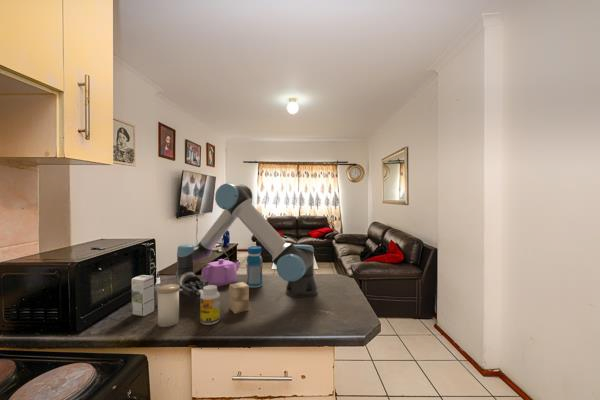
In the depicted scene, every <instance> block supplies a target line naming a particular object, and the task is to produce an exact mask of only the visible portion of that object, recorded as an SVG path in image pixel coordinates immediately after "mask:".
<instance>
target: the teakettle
mask: <svg viewBox="0 0 600 400" xmlns="http://www.w3.org/2000/svg"><path fill="white" fill-rule="evenodd" d="M240 265H241V261H236V262H234V261H230V260H228V259H224V258H220V259H217V260H216V261H211V262H207V263H206V265H205V266H202V267H201V276H200V279H201V278H202V279H203V280H205V282H207V281H209V285H216V286H217V287H221V286H225V285H227V286H228V285H229V284H235V283H237V278H238V274H237V273H238V269H239V267H240Z"/></svg>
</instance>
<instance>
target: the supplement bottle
mask: <svg viewBox="0 0 600 400" xmlns="http://www.w3.org/2000/svg"><path fill="white" fill-rule="evenodd" d="M199 300H200V302H199V303H200V304H199V306H200V307H199V310H200V311H199V317H200V318H199V320H200V323H201V324H202V325H206V326H207V325H208V326H210V325H214V324H217V323H218V322H219V321H220V320H221V319H220V318H221V293H220V292H219V291H218V286H216V285H208V286H205V287H204V286H203V293H202V294H201V296H200V298H199Z"/></svg>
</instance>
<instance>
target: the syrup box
mask: <svg viewBox="0 0 600 400" xmlns="http://www.w3.org/2000/svg"><path fill="white" fill-rule="evenodd" d="M154 277H155V276H154V275H146V274H141V275H138V276H135V277H133V278H131V315H132V316H138V317H146V316H148V315H149V314H152V313H153V312H154V311H155V287H154V286H155V282H154V281H155V278H154Z"/></svg>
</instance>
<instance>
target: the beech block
mask: <svg viewBox="0 0 600 400" xmlns="http://www.w3.org/2000/svg"><path fill="white" fill-rule="evenodd" d="M228 285H229V287H228V288H229V289H228V290H229V292H228V293H229V299H228V300H229V302H228V303H229V304H228V305H229V309H230V311H232V312H233V313H234V314H238V313H243V312H246V311H249V310H250V307H249V306H250V305H249V304H250V302H249V301H250V293H249V292H250V287H249V286H248V285H247V283H245V282H244V281H241V282H234V283H231V284H228Z"/></svg>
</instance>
